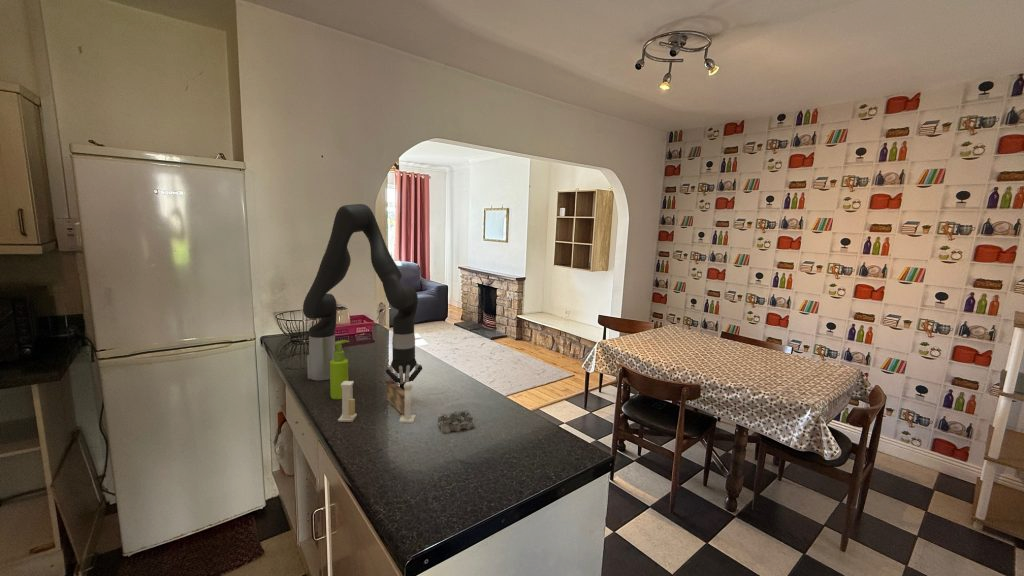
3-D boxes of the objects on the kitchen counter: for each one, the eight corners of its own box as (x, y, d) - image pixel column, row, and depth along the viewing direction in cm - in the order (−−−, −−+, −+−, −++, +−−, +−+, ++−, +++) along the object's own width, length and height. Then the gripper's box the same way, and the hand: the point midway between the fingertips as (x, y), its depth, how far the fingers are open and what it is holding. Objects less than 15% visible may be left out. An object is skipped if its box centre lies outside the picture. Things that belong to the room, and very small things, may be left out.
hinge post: (399, 422, 127) (399, 384, 125) (402, 416, 131) (402, 379, 129) (413, 423, 127) (413, 385, 125) (415, 416, 131) (416, 379, 129)
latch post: (337, 421, 125) (337, 385, 124) (343, 414, 130) (342, 380, 128) (353, 421, 126) (353, 385, 124) (358, 415, 130) (358, 380, 128)
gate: (385, 397, 142) (385, 380, 141) (391, 396, 143) (391, 379, 142) (402, 415, 129) (402, 396, 128) (408, 413, 131) (408, 395, 130)
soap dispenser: (354, 393, 146) (353, 340, 143) (338, 400, 140) (338, 345, 137) (342, 390, 148) (341, 337, 145) (326, 396, 142) (325, 342, 139)
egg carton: (441, 435, 121) (441, 422, 121) (436, 423, 128) (436, 411, 127) (475, 430, 125) (475, 417, 125) (468, 419, 132) (468, 407, 131)
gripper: (383, 349, 132) (384, 399, 135) (424, 346, 137) (424, 395, 139) (383, 343, 139) (384, 390, 142) (422, 340, 144) (422, 386, 146)
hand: (404, 392), depth 141 cm, fingers closed
